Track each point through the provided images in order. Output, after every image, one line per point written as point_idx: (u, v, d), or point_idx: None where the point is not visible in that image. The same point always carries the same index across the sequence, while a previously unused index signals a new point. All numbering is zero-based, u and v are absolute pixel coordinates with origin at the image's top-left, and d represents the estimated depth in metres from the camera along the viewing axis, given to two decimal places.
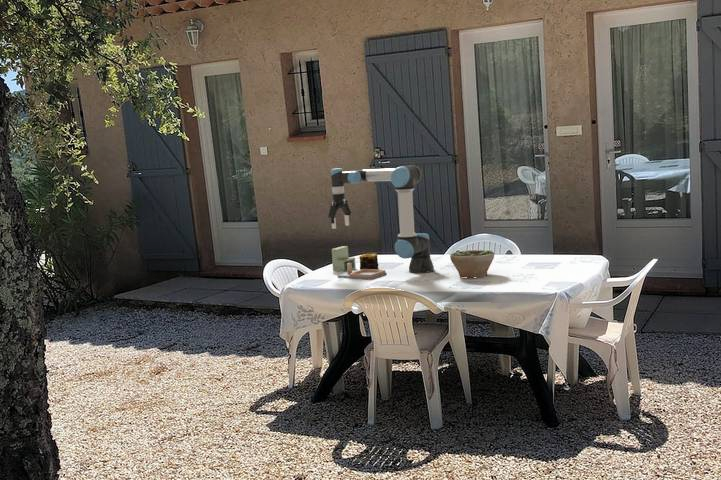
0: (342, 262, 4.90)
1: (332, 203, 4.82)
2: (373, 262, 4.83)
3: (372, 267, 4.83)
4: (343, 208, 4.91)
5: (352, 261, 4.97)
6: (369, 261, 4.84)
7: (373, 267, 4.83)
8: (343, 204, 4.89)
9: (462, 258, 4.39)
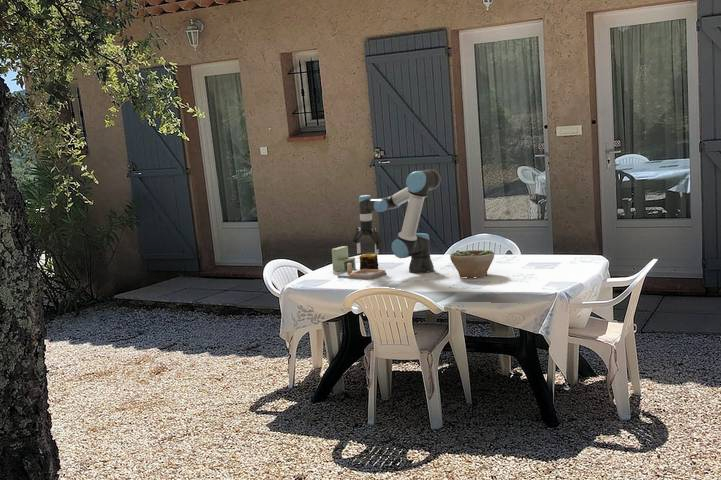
0: (342, 262, 4.90)
1: None
2: (373, 262, 4.83)
3: (372, 267, 4.83)
4: None
5: (352, 261, 4.97)
6: (369, 261, 4.84)
7: (373, 267, 4.83)
8: (368, 232, 4.83)
9: (462, 258, 4.39)
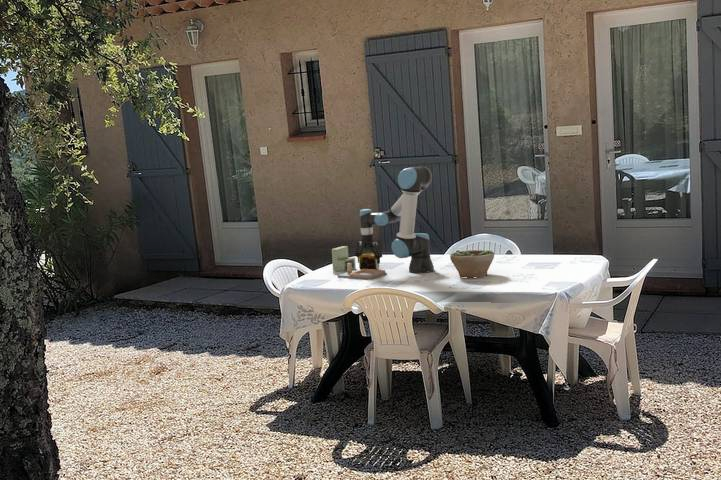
0: (342, 262, 4.90)
1: None
2: (373, 262, 4.83)
3: (372, 267, 4.83)
4: None
5: (352, 261, 4.97)
6: (369, 261, 4.84)
7: (373, 267, 4.83)
8: (369, 246, 4.84)
9: (462, 258, 4.39)
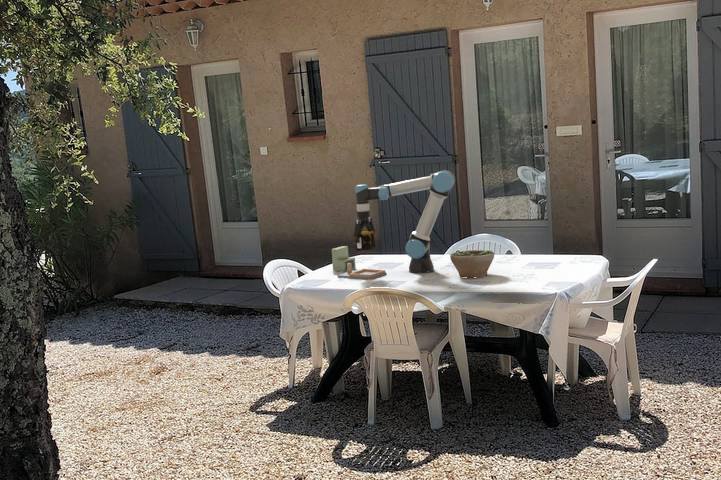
0: (342, 262, 4.90)
1: (357, 221, 4.60)
2: (373, 238, 4.70)
3: (374, 243, 4.70)
4: (368, 226, 4.69)
5: (352, 261, 4.97)
6: None
7: (374, 243, 4.70)
8: (368, 222, 4.67)
9: (462, 258, 4.39)
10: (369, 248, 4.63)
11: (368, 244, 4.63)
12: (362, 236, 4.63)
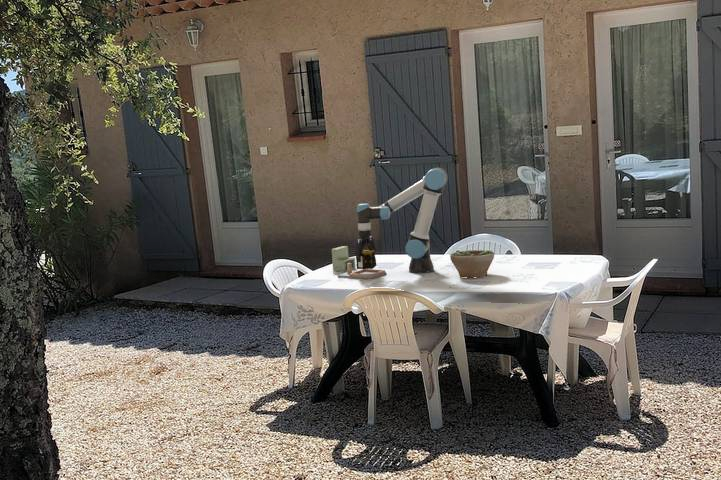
0: (342, 262, 4.90)
1: (358, 241, 4.62)
2: (374, 256, 4.72)
3: (375, 261, 4.71)
4: (369, 245, 4.71)
5: (352, 261, 4.97)
6: None
7: (375, 261, 4.72)
8: (369, 241, 4.69)
9: (462, 258, 4.39)
10: (370, 267, 4.64)
11: (369, 263, 4.64)
12: (363, 255, 4.64)
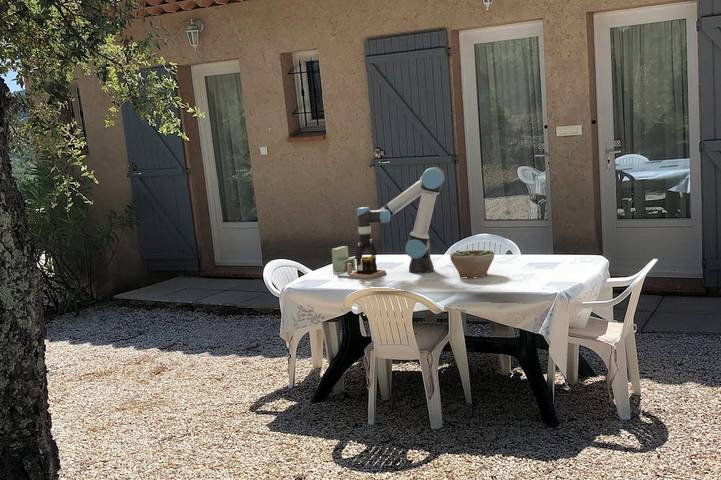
0: (342, 262, 4.90)
1: (358, 244, 4.62)
2: (375, 263, 4.72)
3: (376, 268, 4.72)
4: (369, 248, 4.71)
5: (352, 261, 4.97)
6: None
7: (376, 268, 4.72)
8: (369, 244, 4.69)
9: (462, 258, 4.39)
10: (370, 274, 4.65)
11: (370, 270, 4.65)
12: (364, 262, 4.65)
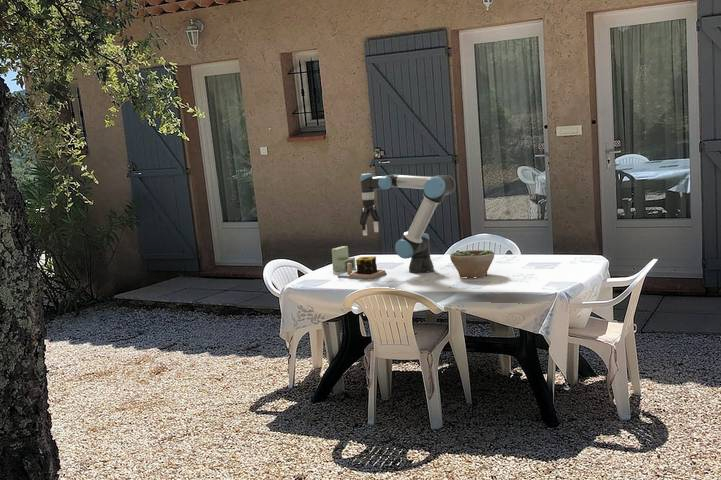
0: (342, 262, 4.90)
1: (363, 209, 4.70)
2: (375, 263, 4.72)
3: (376, 268, 4.72)
4: (373, 214, 4.79)
5: (352, 261, 4.97)
6: None
7: (376, 268, 4.72)
8: (373, 210, 4.77)
9: (462, 258, 4.39)
10: (370, 274, 4.65)
11: (370, 270, 4.65)
12: (364, 262, 4.65)
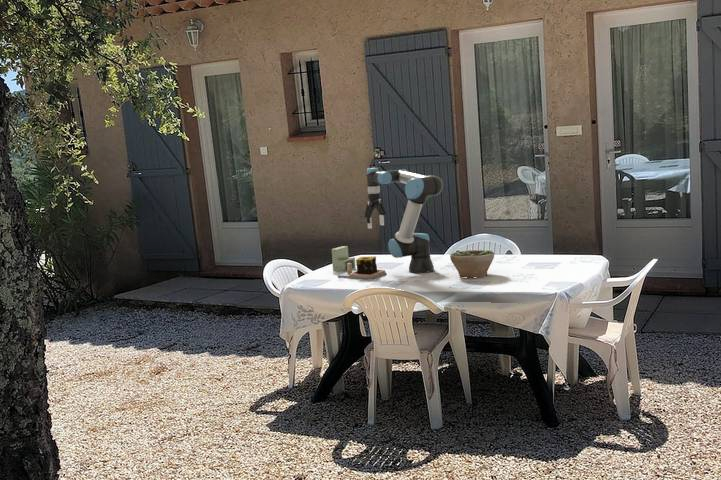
0: (342, 262, 4.90)
1: (368, 203, 4.81)
2: (375, 263, 4.72)
3: (376, 268, 4.72)
4: (378, 208, 4.89)
5: (352, 261, 4.97)
6: None
7: (376, 268, 4.72)
8: (378, 204, 4.87)
9: (462, 258, 4.39)
10: (370, 274, 4.65)
11: (370, 270, 4.65)
12: (364, 262, 4.65)
